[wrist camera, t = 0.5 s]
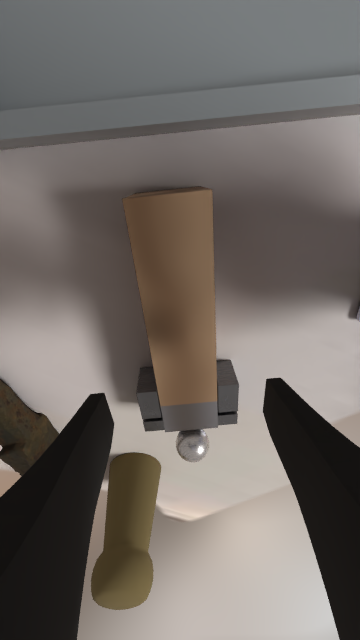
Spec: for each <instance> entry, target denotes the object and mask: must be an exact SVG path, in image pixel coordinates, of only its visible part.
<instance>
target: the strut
mask: <svg viewBox="0 0 360 640" xmlns="http://www.w3.org/2000/svg"><path fill="white" fill-rule="evenodd" d="M122 200H123V206H124V211H125V217H126V222H127V227H128V233H129V238H130V244H131V249H132V255H133V260H134V265H135V271H136V276H137V282H138V287H139V292H140V298H141V303H142V309H143V314H144V320H145V325H146V330H147V336H148V341H149V347H150V352H151V357H152V363H153V368H154V374H155V379H156V385H157V390H158V395H159V401H160V406H161V412H162V417H163V423H164V428H165V432H173V431H184V430H195V429H206V428H217V427H218V407H217V365H216V324H215V283H214V242H213V200H212V189H208V188H204V187H201V186H200V187H190V188H180V189H171V190H161V191H152V192H142V193H135V194H133V195H130V196H128V197H126V198H123V199H122Z"/></svg>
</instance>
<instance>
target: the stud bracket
mask: <svg viewBox="0 0 360 640" xmlns="http://www.w3.org/2000/svg"><path fill="white" fill-rule="evenodd" d="M216 365H217V407H218V425H227V424H237V411H238V391H239V384H238V381H237V378H236V375H235V372H234V369H233V366H232V363H231V360H225V361H216ZM136 394H137V398H138V402H139V407H140V411H141V415H142V419H143V424H144V428H145V431H157V430H165V428H164V423H163V417H162V412H161V406H160V401H159V395H158V390H157V385H156V379H155V374H154V368H153V367H146V368H140V373H139V380H138V386H137V392H136ZM176 448H177V451H178V453H179V455H180V456H181V457H182V458H183V459H184V460H186V461H188V462H197V461H200V460H201V459H203V458H204V457H205V455H206V454H207V452H208V448H209V440H208V437H207V435H206V433H205V432H204V430H202V429H195V430H184V431H180V432H179V434H178V436H177V439H176Z"/></svg>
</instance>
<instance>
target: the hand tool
mask: <svg viewBox="0 0 360 640" xmlns="http://www.w3.org/2000/svg"><path fill="white" fill-rule="evenodd" d="M58 435H59V433H58V432H57V430H56V429H55V428H54V427H53V426H52V424H51V422H50V421H49V419H48V418H47V417H46V416H45V415H44V414H41V413H34V412H33V411H32V410H30V409H29V408H28V407H27V406H26V405H25V404H24V403H23V402H22V400H21V399H20V398H19V397H18V396H17V395H16V394H15V393H14V392H13V390H12V389H11V388H10V387H9V386H7V385H6V384H5V383H3V382H2V381H1V380H0V445H1V446H2V447H3V448H2V450H1V451H0V459H2V460H3V461H4V462H5V463H7V464H8V465H10V466H11V467H12V468H13V469H14V470H15V472H19V473H20V475H21V476H23V475H24V474H25V473H26V471H27V470H28V469H29V468H30V467H31V466H32V465H33V464H34V463H35V462H36V461H37V460H38V459H39V457H40V456H41V455H42V454H43V453H44V452H45V450H46V449H47V448H48V447H49V446H50V445H51V444H52V442H53V441H54V440H55V439H56V438H57V436H58Z"/></svg>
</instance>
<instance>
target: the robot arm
mask: <svg viewBox="0 0 360 640" xmlns="http://www.w3.org/2000/svg"><path fill="white" fill-rule="evenodd" d="M357 320H358V321H360V308H359V311H358V314H357ZM263 413H264V417H265V420H266V423H267V427H268V430H269V433H270V436H271V438H272V441H273V443H274V445H275V448H276V450H277V452H278V455H279V457H280V459H281V462H282V464H283V466H284V469H285V471H286V473H287V476H288V478H289V480H290V482H291V485H292V487H293V489H294V492H295V495H296V497H297V500H298V503H299V506H300V509H301V512H302V515H303V518H304V521H305V524H306V527H307V530H308V533H309V536H310V539H311V543H312V546H313V549H314V552H315V555H316V559H317V562H318V565H319V569H320V572H321V575H322V579H323V582H324V585H325V589H326V592H327V596H328V599H329V603H330V606H331V610H332V613H333V617H334V620H335V624H336V628H337V631H338V635H339V639H340V640H360V448H359V447H358V446H357V445H355V444H354V443H353V442H351V441H350V440H349V439H348V438H346V437H345V436H344V435H343V434H341V433H340V432H339V431H338V430H336V429H335V428H334V427H333V426H332V425H331V424H330V423H328V422H327V421H326V420H325V419H324V418H323V417H322V416H320V415H319V414H318V413H317V412H316V411H315V410H314V409H313V408H312V407H310V406H309V405H308V404H307V403H306V402H305V401H304V400H303V399H302V398H301V397H300V396H299V395H298V394H297V393H296V392H295V391H294V390H293V389H292V388H291V387H290V386H289V385H288V384H287V383H286V382H285V381H284V380H283V379H281V378H271V379H266V388H265V397H264V406H263ZM113 429H114V422H113V418H112V415H111V412H110V409H109V406H108V403H107V400H106V397H105V394H104V393H98V394H90V395H89V397H88V398H87V399H86V400H85V402H84V403H83V404H82V406H81V407H80V408H79V410H78V411H77V412H76V414H75V415H74V416H73V418H72V419H71V420H70V421H69V423H68V424H67V425H66V426H65V428H64V429H63V430H62V431H61V433H60V434H59V435H58V436H57V438H56V439H55V440H54V441H53V442H52V444H51V445H50V446H49V447H48V448H47V449H46V450H45V452H44V453H43V454H42V455H41V456H40V457H39V459H38V460H37V461H36V462H35V463H34V464H33V465H32V466H31V467H30V468H29V469H28V470H27V471H26V473H25V474H24V475H23V476H22V477H21V478H20V479H19V480H18V481H17V482H16V483H15V484H14V485H13V486H12V487H11V488H10V489H9V490H8V491H7V492H5V494H3V496H1V497H0V640H77V633H78V624H79V615H80V607H81V600H82V591H83V584H84V576H85V570H86V563H87V556H88V550H89V543H90V537H91V531H92V525H93V519H94V514H95V509H96V505H97V500H98V497H99V493H100V489H101V485H102V481H103V477H104V473H105V469H106V465H107V461H108V457H109V453H110V449H111V444H112V437H113Z"/></svg>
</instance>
